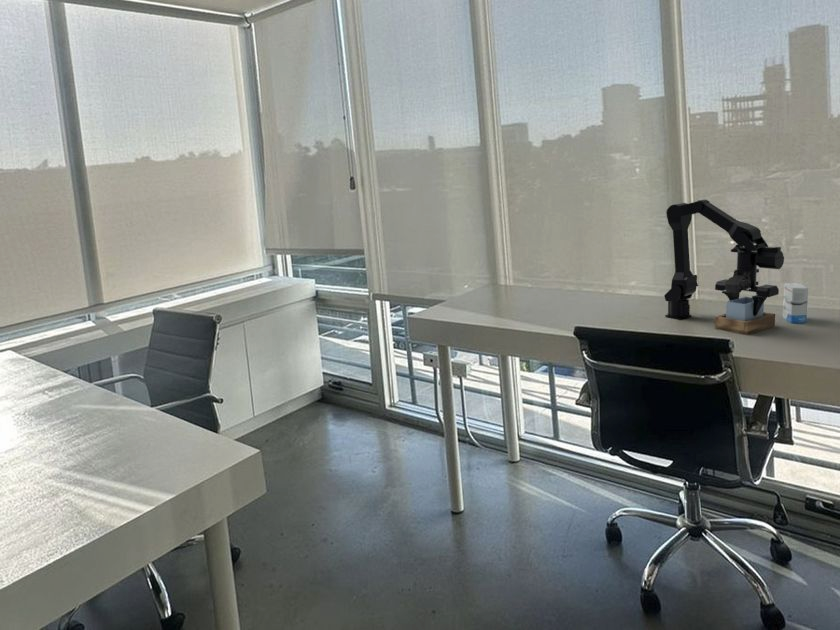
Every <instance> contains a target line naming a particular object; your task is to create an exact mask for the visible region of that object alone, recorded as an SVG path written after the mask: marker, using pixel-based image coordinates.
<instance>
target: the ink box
mask: <svg viewBox="0 0 840 630" xmlns="http://www.w3.org/2000/svg"><path fill="white" fill-rule="evenodd" d="M783 285H784V287H783V305H782V318H783V319H785V320H786V321H788V322H789V323H791V324H803V323H805V324H806V323H807V315H808V313H807V312H808V297H809V296H808V295H809V287H807V286H805V285H803V284H801V282H795V283H794V282H792V283H788V282H787V283H785V282H784V284H783Z"/></svg>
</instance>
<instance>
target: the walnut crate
mask: <svg viewBox="0 0 840 630" xmlns="http://www.w3.org/2000/svg"><path fill="white" fill-rule="evenodd" d="M775 325H776V313H773V312H766V311H763V316H762V317H759V318H755V319H752V320H749V321H742V320H736V319H730V318H726V313H723V314H720V315H716V316H715V317H714V329H715V330H719V331H725V332H730V333H734V334H735V333H736V334H739V335H740V334H741V335H744V334H745V336H748V334H749V335H751V334H754V333H757V332H761V331H764V330H767V329H769V328H773V327H775Z"/></svg>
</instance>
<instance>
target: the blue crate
mask: <svg viewBox="0 0 840 630" xmlns="http://www.w3.org/2000/svg"><path fill="white" fill-rule="evenodd" d="M725 305H726V307H725V308H726V312H725V314H726V318H730V319H736V320H742V321H749V320H752V319H755V318H759V317H762V316H763V312H765V311H764V310H765V309H764V308H765V307H764V305H765V302H764V303H763V304H762V306H761V308H760V310H759V311H758V313H757V315H756V316H754V315H753V306H754V300H753V298H752V296H751V297H750V296H743V297H739V298H738V299H735V300H731V301H730V300H728V301H726V304H725Z"/></svg>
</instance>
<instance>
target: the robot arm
mask: <svg viewBox="0 0 840 630" xmlns="http://www.w3.org/2000/svg"><path fill="white" fill-rule="evenodd" d="M665 212H666V213H665V214H666V220H667V223H668V225H669V227H670V228H671V230H672V238H673V240H672V241H673V252H674V253H673V255H674V257H673V258H674V269H675V270H674V271H675V272H674V273H673V276H672V278H671V284H670V285H671V287H670V289H669V290H668V291H667V292H666V293H665V294H664V299H665V301H666V302H668V303H667V314H665V315H664V316H665V318H671V319H677V320H683V319H686V318H689V317H692V314H690V309H691V307H690V306H691V305H690V304H689V303H690V300H689V299H692V297H693V294H695V292H697V287H699V283H698V274H693V272H692V271H691V264H690V263H691V260H690V243H689V242H690V241H689V240H690V239H689V227H690V224H691V222H692V217H693V215H695V214H700V215H701V216H702V217H704V218H706V219H708V221H711V222H712V223H713V224H714V225H716V226H718V227H720V229H723V230H724V231H725V232H726V233H727V234H728V235H729V238H730V239H731V240H733V242H735V246H734V247H733V248H731V249H730V252H731V253H737V254H736V255H737V256H736V259H737V260H736V269H734V272H733V275H732V276H731V277H729V278H728V279H727V278H725V279H721V280H718V281H716V282H715V284H714V290H716V291H721V294H724V295H725V296H726V297H727V298H728V301H731V300H735V299H738V298H740V294H741V292H742V291H745V292H750V293H751V292H753V293H755V295H752V296H751V297H752V298H753V300H754V306H753V315H754V316H756V315H757V313H758V311H759V310H760V308H761V306H762V304H763V303H764V304H765V301H766V299H767V298H770V297H774V296H778V295H779V291H780V290H779V287H778V286H777V285H772V284H763V285H760V286H759V283H760V282H759V281H757V273H760V269H759V268H761V269H771V270H781V268H783V265H784V261H785V256H784V253H783V251H782V247H781V246H769V244H768V243H767V241H766V240H765V239H764V237H763V236H762V233H761V229H760V228H759V227H758V226H756V225H752V224H751V223H747V222H744V221H739V220H738V219H736V218H734V217H733V216H731V215H729V214H728V213H727V212H725V211H723V210H722V209H721V208H719V207H717V206H716V205H714V204H713V203H711V202H710V200H708V199H699V200H695V201H693V202H689V203H686V202H680V203H674V204H671V205H670V206H668V208H667V209H666V211H665ZM757 266H758V267H757Z"/></svg>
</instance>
